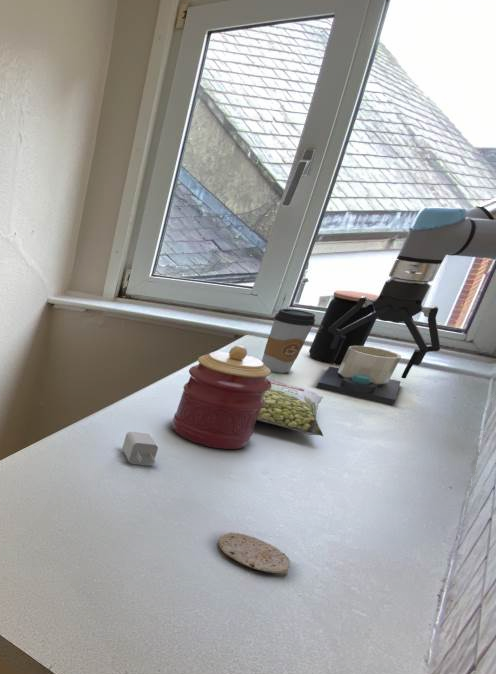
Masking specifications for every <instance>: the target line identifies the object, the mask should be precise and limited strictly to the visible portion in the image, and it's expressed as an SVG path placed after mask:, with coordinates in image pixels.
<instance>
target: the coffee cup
mask: <svg viewBox="0 0 496 674" xmlns="http://www.w3.org/2000/svg"><path fill="white" fill-rule="evenodd" d="M315 318H316V314H315V313H313V312H311V311H306V310H302V309H301V310H300V309H294V308H293V309H292V308H280V309H279V311H278V312H276V314H275V316H274V317H273V323H272V325H271V329H270V332H269V335H268V338H267V341H266V344H265V347H264V351H263V354H262V359H261V361H262V362H263V363H264V365H265V366H266V367H268V368H269V369H270V370H271V373H279V374H287V373H288V372H290V371H291V369H292V367H293V365H294V363H295V361H296V359H297V358H298V356H299V354H300V352H301V351H302V349H303V346H304V344H305V342H306V340H307V338H308V336H309V334H310V333H311V330H312V328H313V326H315V322H316V319H315Z"/></svg>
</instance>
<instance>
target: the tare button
mask: <svg viewBox="0 0 496 674" xmlns="http://www.w3.org/2000/svg"><path fill="white" fill-rule="evenodd" d="M370 380H371V377H369V376H366V375H362V374H354V375H353V377H352V380H351V381H352V382H355V383H358V384H364V385H369V382H370Z"/></svg>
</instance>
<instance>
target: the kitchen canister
mask: <svg viewBox="0 0 496 674" xmlns="http://www.w3.org/2000/svg"><path fill="white" fill-rule="evenodd" d="M197 361H198V364H195V365H193V366H191V367H190V368H189V369H188V373H189V375H190V377H189V379H188V381H187V382H186V383H185V384H183V390H182V393H181V397H180V400H179V403H178V406H177V409H176V412H175V413H174V415H173V418H172V429H173V430H174V431H175V433H176V434H178V435H179V436H181V437H182V438H184V439H187V440H188V441H191V442H193V443H195V444H198V445H202V446H206V447H211V448H215V449H223V450H236V449H241V448H244V447H245V446H247V444H248V442H249V441H250V440H251V439H252V435H253V430H254V428H255V425H256V423H257V421H258V420H257V418H258V416H259V413H260V411H261V408H262V407H263V406H264V404H265V401H264V399H263V398H264V394H265V392H266V391H268V390H269V389H270V388H271V387H272V385H271V383H270V381H271V380H269V379H268V378H267V377H269V376H270V375H271V374H272V371H271V370H270V369H269V368H268V367H266V366H265V365H264V363H263V362H262V360H260V359H259V358H256V357H253V356H250V355H248V350H247V348H246V347H245V346H243V345H235V346H233V347H231V348H230V350H229V351H222V350H221V351H219V350H218V351H212V352H210V353H207V354H204V355H200V356H199V357H198V358H197Z"/></svg>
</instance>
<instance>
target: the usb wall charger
mask: <svg viewBox="0 0 496 674" xmlns="http://www.w3.org/2000/svg"><path fill="white" fill-rule="evenodd" d="M121 450H122V452H123V453H124V455H125V457H126V459H127V461H128V462H129V463H130V464H133V465H142V466H151V465H153V464H155V462H156V456H157V453H158V450H159V447H158V445H157V443H156V442H155V440H154V439H153V437H152V436H151V434H150V433H146V432H137V431H128V432H127V433H126V434H125V437H124V441H123V444H122V447H121Z"/></svg>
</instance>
